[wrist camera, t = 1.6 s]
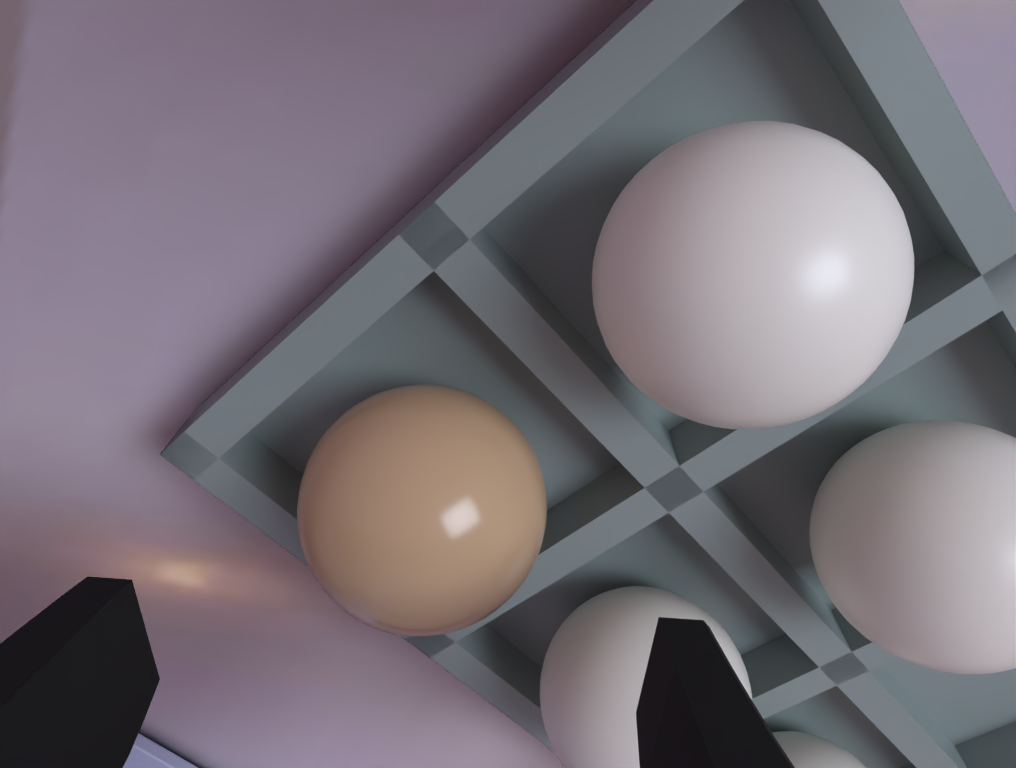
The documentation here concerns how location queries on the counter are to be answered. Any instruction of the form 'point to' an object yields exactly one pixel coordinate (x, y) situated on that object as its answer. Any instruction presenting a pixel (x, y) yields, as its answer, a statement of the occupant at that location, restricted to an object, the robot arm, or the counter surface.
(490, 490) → the brown egg
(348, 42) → the counter surface
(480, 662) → the egg carton
